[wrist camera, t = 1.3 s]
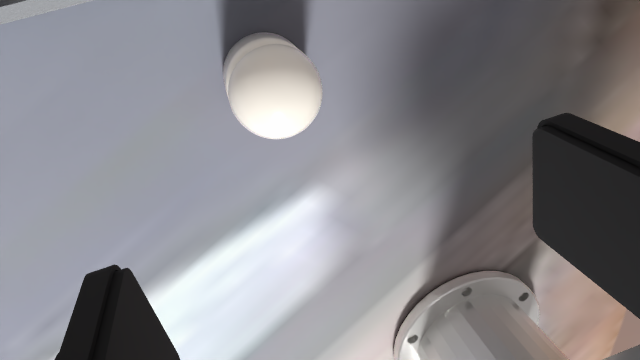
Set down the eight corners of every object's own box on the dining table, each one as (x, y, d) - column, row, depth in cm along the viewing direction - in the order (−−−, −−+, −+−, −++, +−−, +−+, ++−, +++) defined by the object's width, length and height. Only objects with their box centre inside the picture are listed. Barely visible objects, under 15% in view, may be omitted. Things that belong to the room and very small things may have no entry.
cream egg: (312, 101, 26) (342, 136, 21) (237, 123, 25) (249, 165, 20) (293, 22, 24) (321, 40, 19) (211, 45, 23) (217, 70, 18)
